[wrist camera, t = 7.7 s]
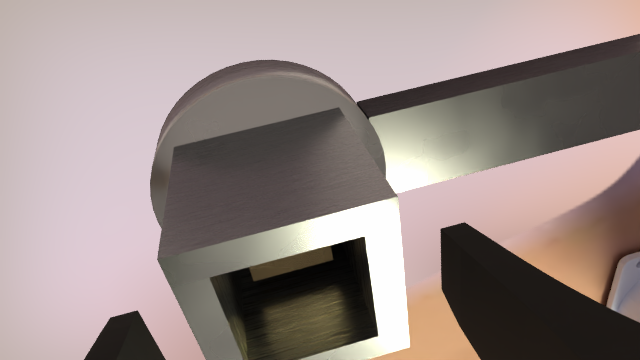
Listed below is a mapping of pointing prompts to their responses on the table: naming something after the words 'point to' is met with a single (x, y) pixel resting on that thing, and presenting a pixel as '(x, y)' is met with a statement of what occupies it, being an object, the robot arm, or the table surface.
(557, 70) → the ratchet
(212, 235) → the hollow square tube
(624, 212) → the table surface
